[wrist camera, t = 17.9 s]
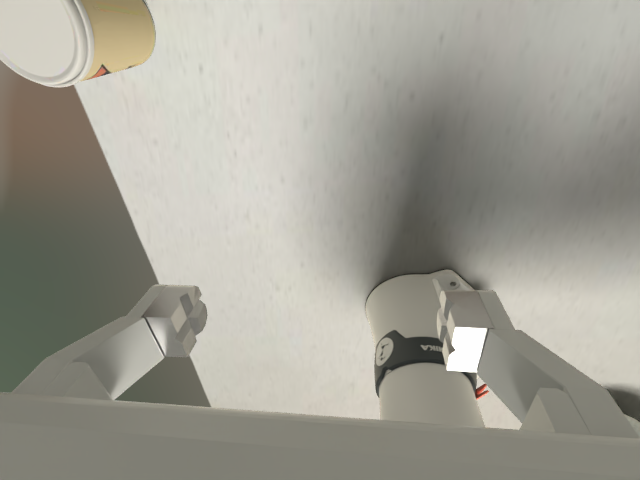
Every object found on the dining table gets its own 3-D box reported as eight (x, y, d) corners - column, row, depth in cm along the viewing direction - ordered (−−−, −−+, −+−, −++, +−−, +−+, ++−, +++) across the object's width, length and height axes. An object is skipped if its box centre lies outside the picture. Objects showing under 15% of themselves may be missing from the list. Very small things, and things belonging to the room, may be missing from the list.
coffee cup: (84, 60, 37) (-19, 70, 27) (71, -43, 32) (-62, -78, 22) (164, 84, 38) (90, 102, 28) (163, -15, 33) (73, -36, 23)
